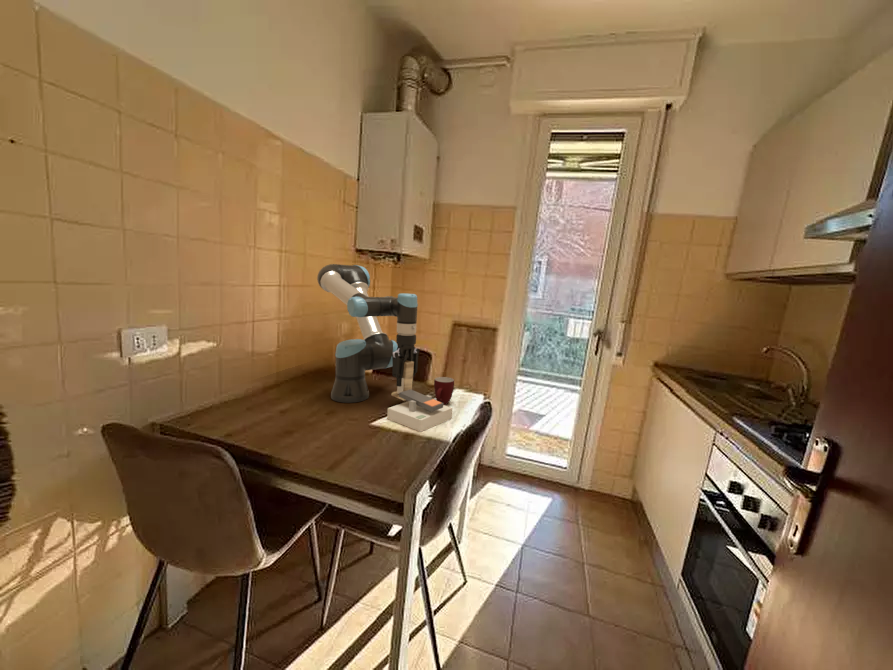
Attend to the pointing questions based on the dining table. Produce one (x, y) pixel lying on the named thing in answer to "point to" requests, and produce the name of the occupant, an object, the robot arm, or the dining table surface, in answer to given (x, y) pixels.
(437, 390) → the mug
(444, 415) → the switch box
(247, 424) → the dining table surface
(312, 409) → the dining table surface
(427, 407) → the rocker
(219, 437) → the dining table surface
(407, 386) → the wooden post with base
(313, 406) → the dining table surface
